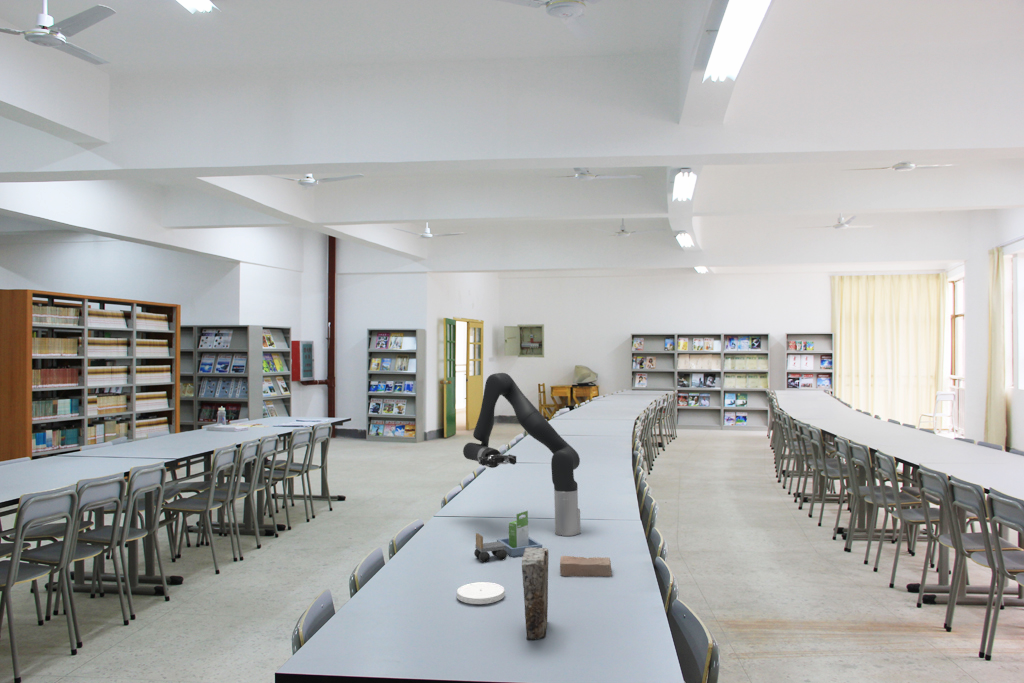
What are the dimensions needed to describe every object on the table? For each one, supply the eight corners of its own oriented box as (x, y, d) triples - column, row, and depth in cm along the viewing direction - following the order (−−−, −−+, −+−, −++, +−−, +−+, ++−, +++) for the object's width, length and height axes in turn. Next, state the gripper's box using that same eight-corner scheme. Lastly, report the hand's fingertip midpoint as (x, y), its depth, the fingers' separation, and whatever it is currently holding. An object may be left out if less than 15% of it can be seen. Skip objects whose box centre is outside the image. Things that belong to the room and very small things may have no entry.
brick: (610, 569, 228) (610, 555, 228) (612, 577, 220) (611, 563, 220) (560, 569, 229) (560, 555, 230) (559, 577, 221) (559, 563, 221)
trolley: (500, 554, 246) (500, 529, 246) (507, 559, 240) (506, 533, 241) (474, 558, 242) (473, 533, 242) (480, 563, 237) (479, 537, 237)
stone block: (523, 620, 186) (522, 545, 186) (549, 620, 185) (548, 545, 186) (523, 641, 172) (521, 560, 173) (551, 640, 172) (549, 560, 172)
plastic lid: (487, 610, 194) (487, 601, 194) (447, 602, 201) (447, 593, 201) (513, 595, 206) (513, 586, 206) (474, 587, 213) (474, 579, 213)
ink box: (520, 545, 255) (519, 509, 255) (529, 547, 252) (528, 510, 253) (508, 549, 250) (507, 512, 250) (517, 551, 247) (516, 514, 247)
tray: (526, 543, 260) (526, 535, 260) (542, 553, 247) (542, 544, 247) (496, 547, 255) (496, 539, 255) (511, 557, 242) (511, 549, 242)
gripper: (472, 448, 276) (486, 454, 261) (505, 446, 281) (521, 451, 266) (472, 467, 276) (486, 474, 261) (505, 464, 281) (521, 470, 266)
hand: (504, 462), depth 263 cm, fingers open, 8 cm apart
